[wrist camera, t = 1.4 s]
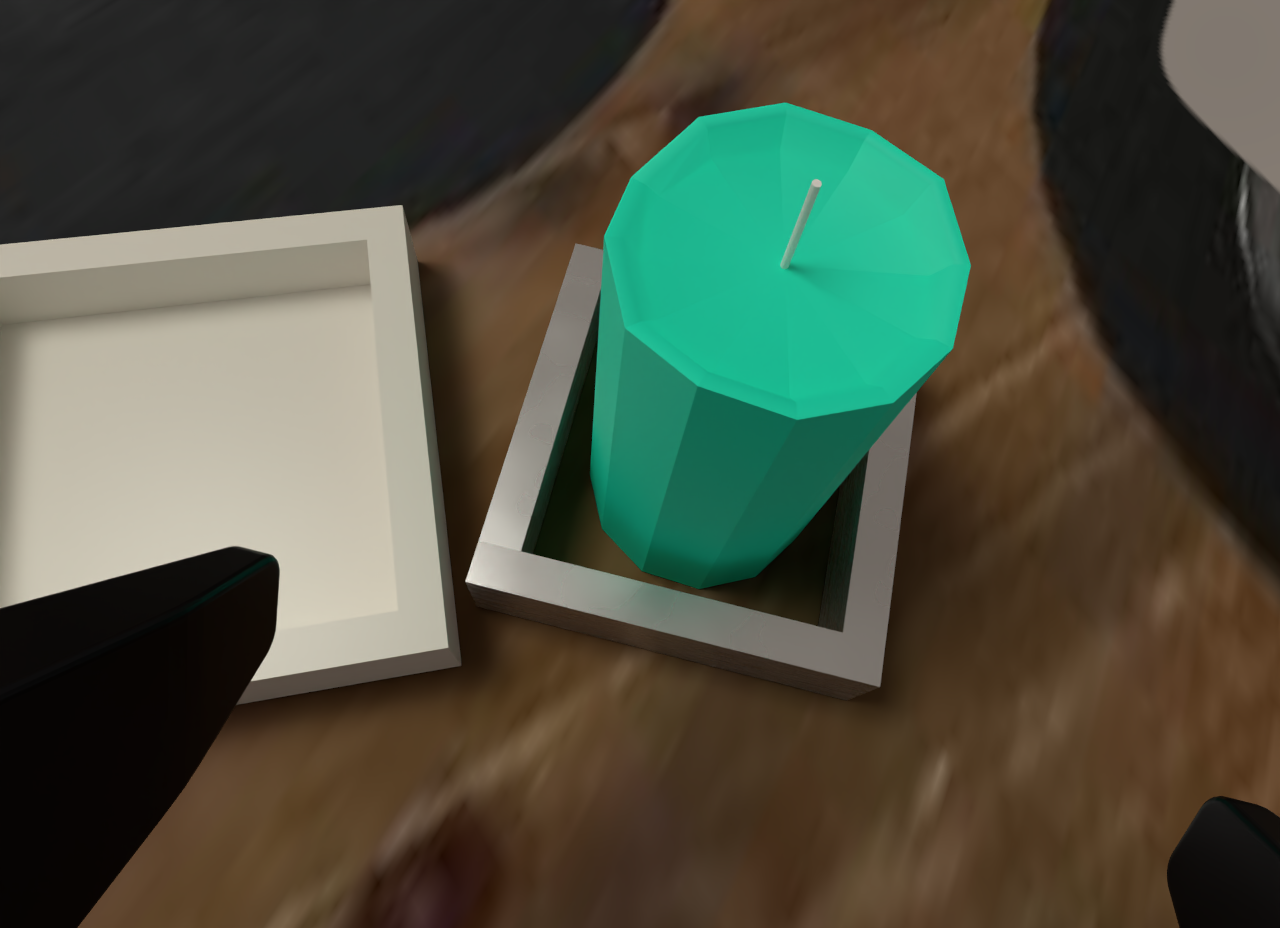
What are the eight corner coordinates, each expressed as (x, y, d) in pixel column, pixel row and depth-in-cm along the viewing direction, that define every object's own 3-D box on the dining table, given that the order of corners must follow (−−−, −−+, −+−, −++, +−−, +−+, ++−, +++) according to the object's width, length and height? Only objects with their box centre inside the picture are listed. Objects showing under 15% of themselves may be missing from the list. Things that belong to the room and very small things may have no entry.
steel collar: (846, 700, 21) (880, 686, 19) (476, 606, 22) (465, 581, 19) (892, 373, 25) (924, 328, 23) (575, 295, 25) (575, 243, 23)
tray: (461, 666, 21) (448, 647, 19) (-74, 758, 19) (-160, 751, 17) (417, 260, 25) (402, 205, 23) (-23, 307, 24) (-88, 253, 21)
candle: (737, 353, 25) (871, -13, 14) (849, 527, 23) (1105, 267, 12) (552, 436, 24) (536, 102, 12) (656, 629, 22) (745, 439, 11)
